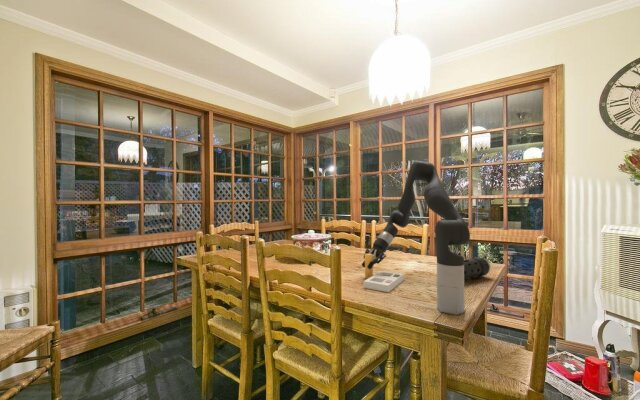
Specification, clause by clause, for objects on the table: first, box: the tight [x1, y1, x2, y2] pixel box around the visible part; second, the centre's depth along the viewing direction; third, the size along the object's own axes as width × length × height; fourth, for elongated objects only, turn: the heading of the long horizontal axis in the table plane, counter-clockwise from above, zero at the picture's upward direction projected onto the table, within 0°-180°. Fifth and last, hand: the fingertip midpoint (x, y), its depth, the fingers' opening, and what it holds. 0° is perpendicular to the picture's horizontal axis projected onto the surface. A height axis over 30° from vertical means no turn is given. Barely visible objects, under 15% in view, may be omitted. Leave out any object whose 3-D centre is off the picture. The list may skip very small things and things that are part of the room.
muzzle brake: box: [464, 256, 491, 280], centre depth 141 cm, size 10×28×10 cm, turn 116°
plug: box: [364, 253, 374, 280], centre depth 145 cm, size 4×4×12 cm
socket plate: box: [363, 270, 405, 293], centre depth 136 cm, size 22×12×3 cm, turn 146°
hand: (365, 267), depth 144 cm, fingers closed on plug, 4 cm apart
